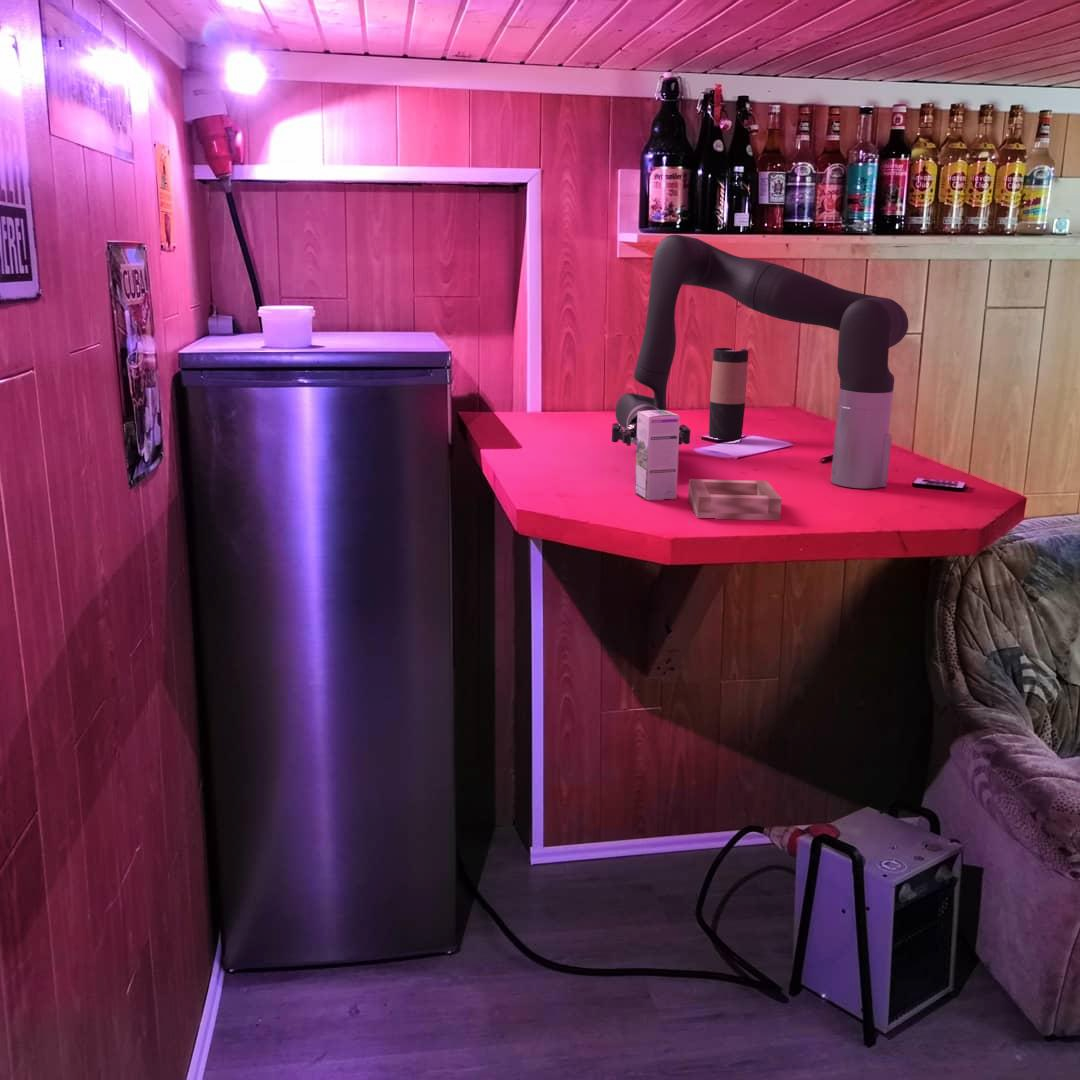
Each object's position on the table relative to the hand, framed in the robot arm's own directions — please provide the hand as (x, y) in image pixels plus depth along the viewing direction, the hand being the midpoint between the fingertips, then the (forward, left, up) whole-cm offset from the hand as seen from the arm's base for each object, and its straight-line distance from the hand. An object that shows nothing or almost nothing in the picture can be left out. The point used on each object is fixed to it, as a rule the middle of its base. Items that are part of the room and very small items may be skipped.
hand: (653, 440), depth 187 cm
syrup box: (0, +9, -8) cm, 12 cm away
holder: (-12, +17, -8) cm, 22 cm away
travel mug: (-20, -47, -8) cm, 52 cm away
